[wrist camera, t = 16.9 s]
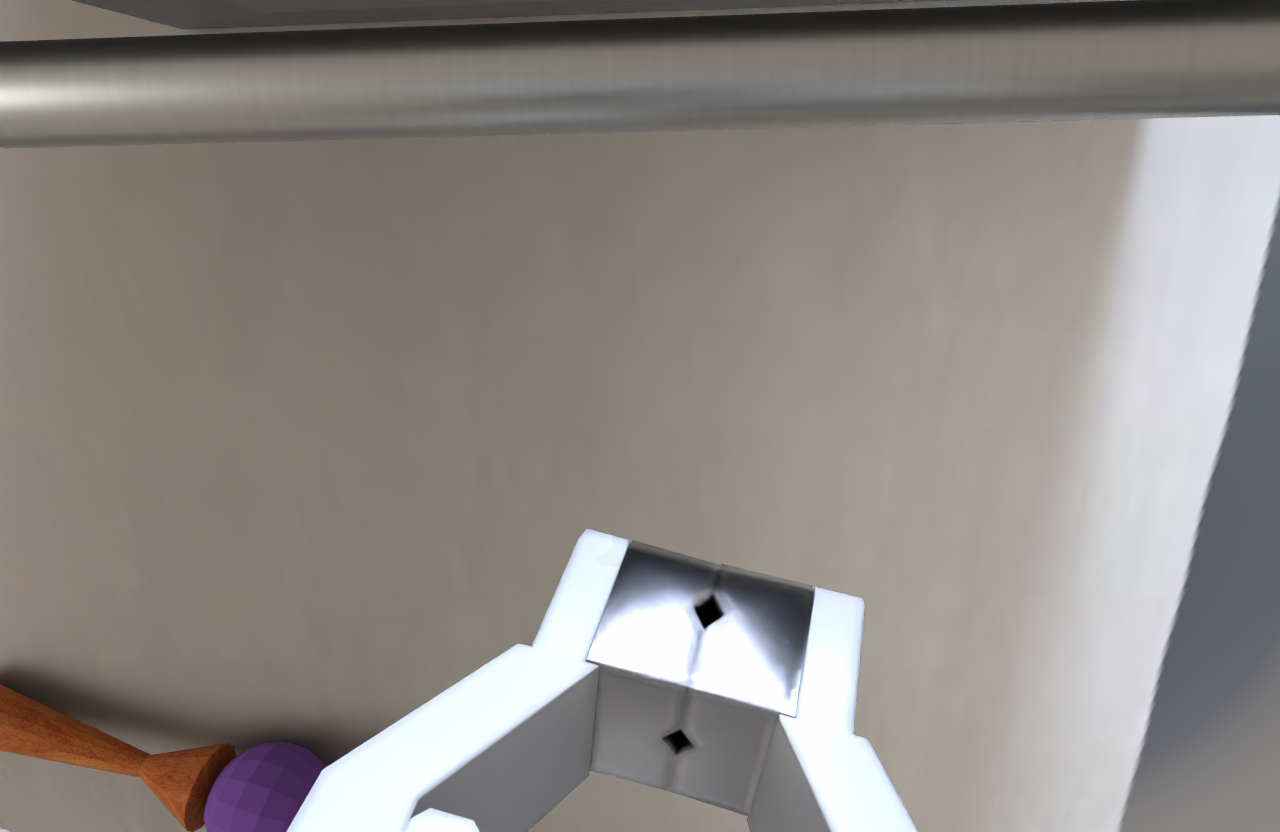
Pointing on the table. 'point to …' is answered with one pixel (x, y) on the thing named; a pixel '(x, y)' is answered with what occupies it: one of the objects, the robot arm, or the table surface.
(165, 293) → the table surface
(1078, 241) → the table surface
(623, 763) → the robot arm
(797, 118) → the oven door
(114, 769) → the kendama
